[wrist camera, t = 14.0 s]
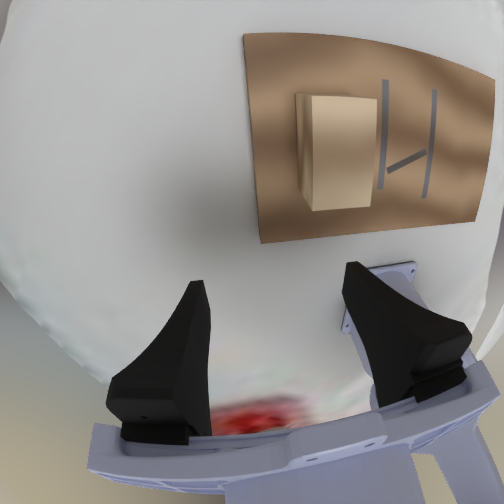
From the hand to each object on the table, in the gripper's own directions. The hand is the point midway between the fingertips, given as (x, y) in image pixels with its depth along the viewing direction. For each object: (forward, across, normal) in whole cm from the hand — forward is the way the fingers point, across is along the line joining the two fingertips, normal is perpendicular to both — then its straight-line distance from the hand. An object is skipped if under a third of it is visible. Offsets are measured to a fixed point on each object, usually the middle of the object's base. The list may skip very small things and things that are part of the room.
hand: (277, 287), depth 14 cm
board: (+10, -12, -5) cm, 16 cm away
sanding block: (+9, -5, -5) cm, 11 cm away
